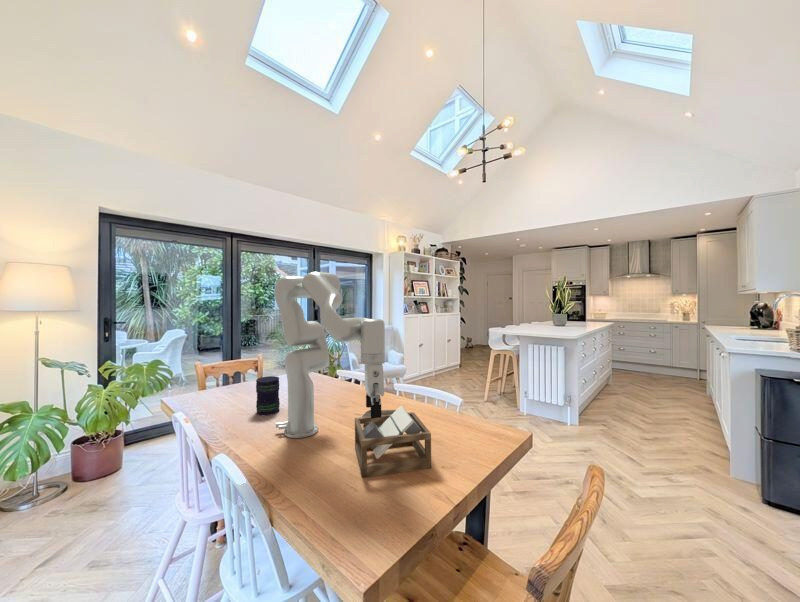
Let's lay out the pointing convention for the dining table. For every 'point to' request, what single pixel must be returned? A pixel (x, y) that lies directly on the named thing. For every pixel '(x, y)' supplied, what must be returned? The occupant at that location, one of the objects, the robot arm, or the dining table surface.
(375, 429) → the basalt block
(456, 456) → the dining table surface
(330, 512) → the dining table surface
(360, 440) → the walnut hatch frame
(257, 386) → the storage jar
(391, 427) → the hatch leaf
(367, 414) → the marble piece
